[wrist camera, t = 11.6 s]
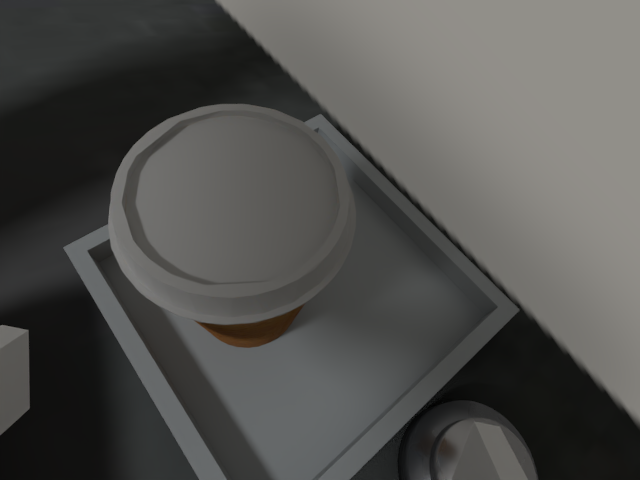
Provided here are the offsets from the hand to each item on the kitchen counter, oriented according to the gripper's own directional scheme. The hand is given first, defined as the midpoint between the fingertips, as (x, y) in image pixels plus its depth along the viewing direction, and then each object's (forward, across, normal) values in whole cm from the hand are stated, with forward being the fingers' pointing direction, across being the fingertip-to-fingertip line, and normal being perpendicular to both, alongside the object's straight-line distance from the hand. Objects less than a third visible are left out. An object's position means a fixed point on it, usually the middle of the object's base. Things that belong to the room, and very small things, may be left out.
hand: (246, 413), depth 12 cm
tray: (+15, 0, -3) cm, 15 cm away
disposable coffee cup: (+13, -2, -3) cm, 14 cm away
